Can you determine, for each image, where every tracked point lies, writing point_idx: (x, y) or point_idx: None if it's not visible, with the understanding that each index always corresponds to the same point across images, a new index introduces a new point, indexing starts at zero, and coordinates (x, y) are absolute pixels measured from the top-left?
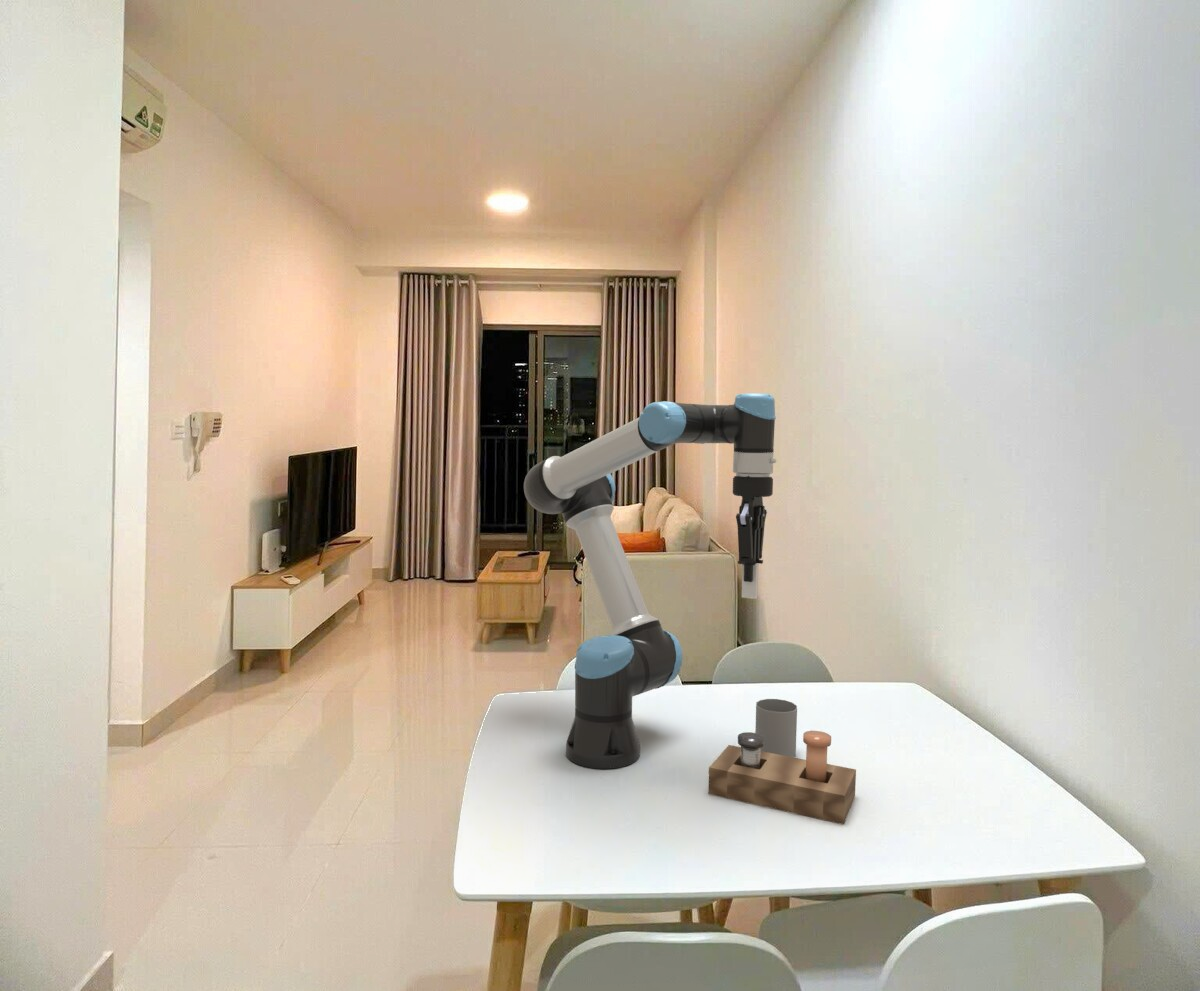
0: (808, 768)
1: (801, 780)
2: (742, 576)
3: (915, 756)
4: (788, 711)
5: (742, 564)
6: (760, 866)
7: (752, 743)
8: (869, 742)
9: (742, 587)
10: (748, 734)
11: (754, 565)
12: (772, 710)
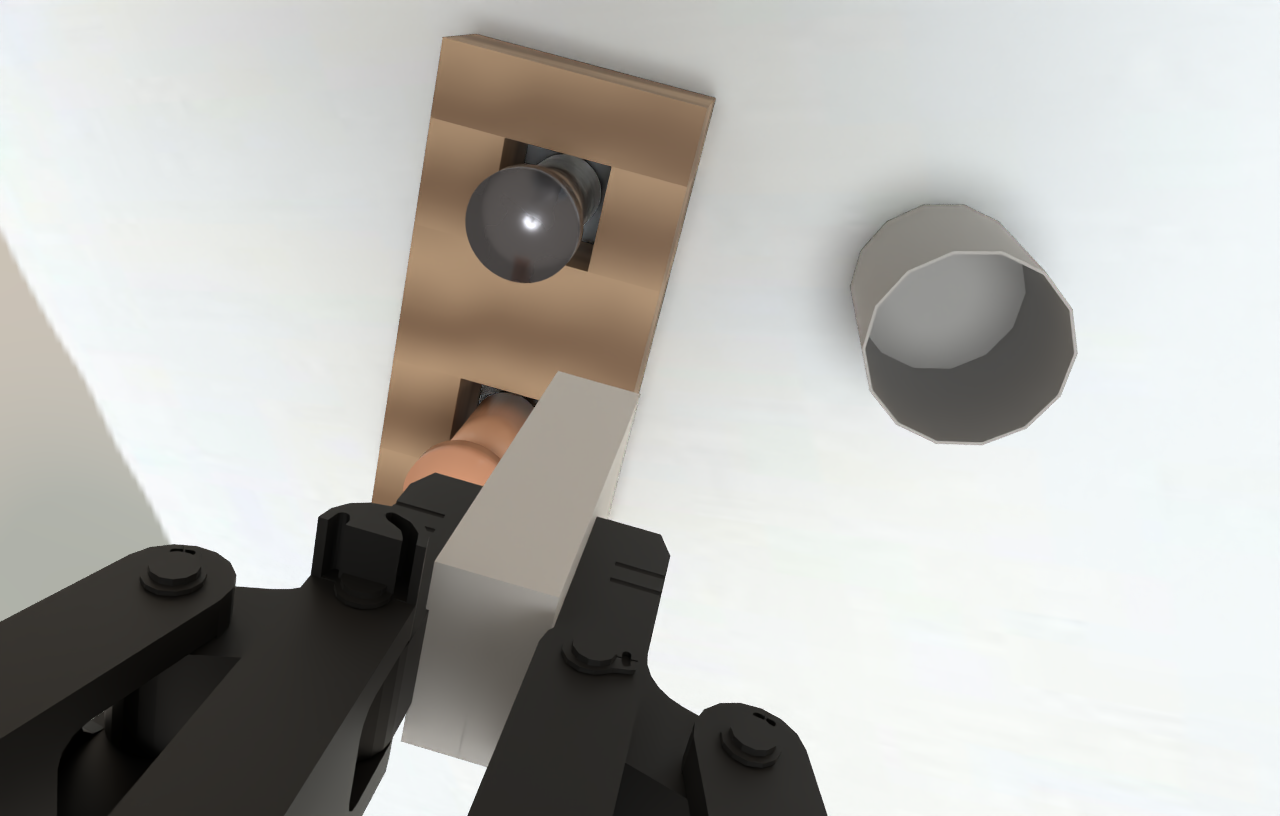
0: (467, 421)
1: (439, 385)
2: (492, 476)
3: (979, 755)
4: (1029, 394)
5: (440, 558)
6: (89, 225)
7: (469, 232)
8: (1100, 642)
9: (527, 420)
10: (549, 215)
11: (406, 716)
12: (1057, 319)
